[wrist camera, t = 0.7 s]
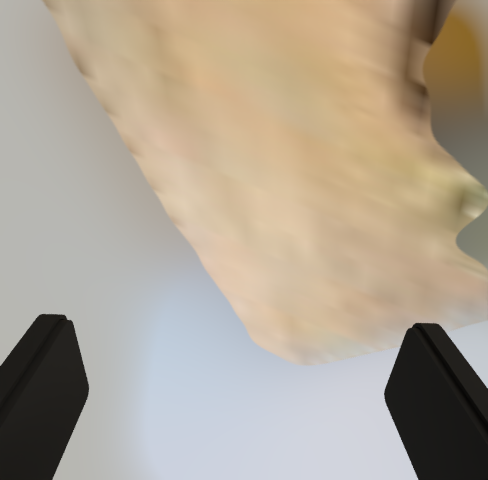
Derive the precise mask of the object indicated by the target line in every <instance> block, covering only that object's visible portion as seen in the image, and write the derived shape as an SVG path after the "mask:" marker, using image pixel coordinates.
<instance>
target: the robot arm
mask: <svg viewBox="0 0 488 480" xmlns="http://www.w3.org/2000/svg"><path fill="white" fill-rule="evenodd" d="M88 392H89V384H88V381H87V377H86V373H85V369H84V365H83V361H82V357H81V353H80V349H79V345H78V341H77V337H76V333H75V329H74V325H73V322H72V321H71V320H67V318H66V316H65V315H57V314H41V315H39V316H38V317H37V318H36V320H35V321H34V322H33V324H32V325H31V326H30V328H29V329H28V330H27V331H26V333H25V334H24V336H23V337H22V338H21V340H20V341H19V342H18V344H17V345H16V346H15V347H14V349H13V350H12V351H11V353H10V354H9V355H8V357H7V358H6V359H5V361H4V362H3V364H2V365H1V366H0V480H52V479H53V476H54V474H55V472H56V469H57V467H58V465H59V463H60V460H61V458H62V456H63V453H64V451H65V449H66V446H67V444H68V442H69V439H70V437H71V435H72V432H73V430H74V428H75V425H76V423H77V421H78V418H79V416H80V414H81V412H82V409H83V407H84V405H85V402H86V400H87V397H88ZM384 395H385V402H386V404H387V407H388V409H389V411H390V414H391V416H392V419H393V421H394V423H395V426H396V428H397V430H398V433H399V435H400V437H401V440H402V442H403V444H404V447H405V449H406V451H407V454H408V456H409V458H410V461H411V463H412V465H413V468H414V470H415V472H416V475H417V477H418V480H488V388H487V387H486V386H485V384H484V383H483V382H482V380H481V379H480V378H479V376H478V375H477V374H476V372H475V371H474V370H473V368H472V367H471V366H470V364H469V363H468V362H467V360H466V359H465V358H464V356H463V355H462V354H461V353H460V351H459V350H458V349H457V347H456V346H455V344H454V343H453V342H452V340H451V339H450V338H449V336H448V335H447V334H446V332H445V331H444V330H443V328H442V327H441V326H440V325H439V324H436V323H415V324H414V325H413V327H412V328H409V329H408V330H407V331H406V334H405V337H404V340H403V342H402V345H401V348H400V351H399V353H398V356H397V359H396V361H395V364H394V367H393V369H392V372H391V375H390V377H389V380H388V383H387V385H386V388H385V393H384Z"/></svg>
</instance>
